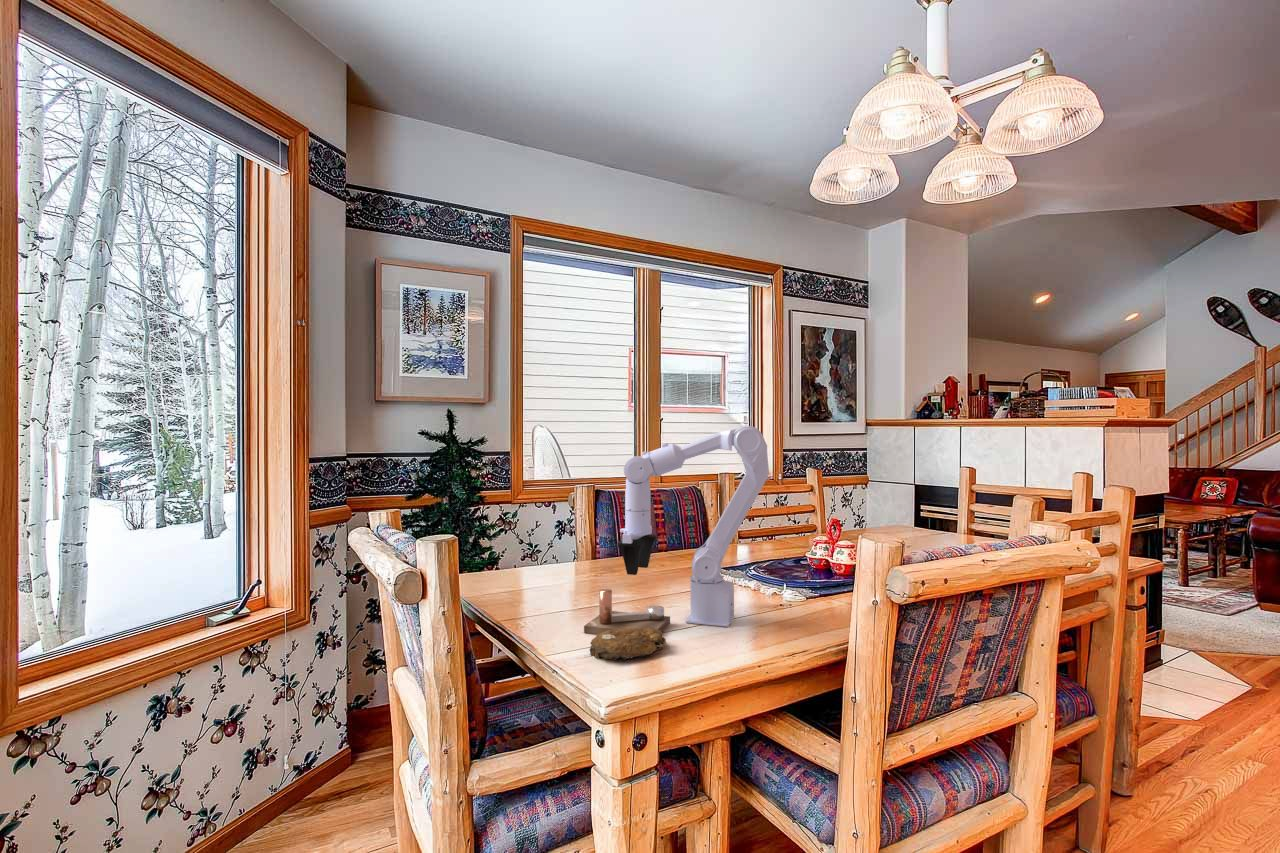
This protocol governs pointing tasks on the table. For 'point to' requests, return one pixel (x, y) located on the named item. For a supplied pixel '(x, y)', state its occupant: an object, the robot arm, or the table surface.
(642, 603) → the table surface
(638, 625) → the board
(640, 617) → the lever
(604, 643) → the decorative rock
